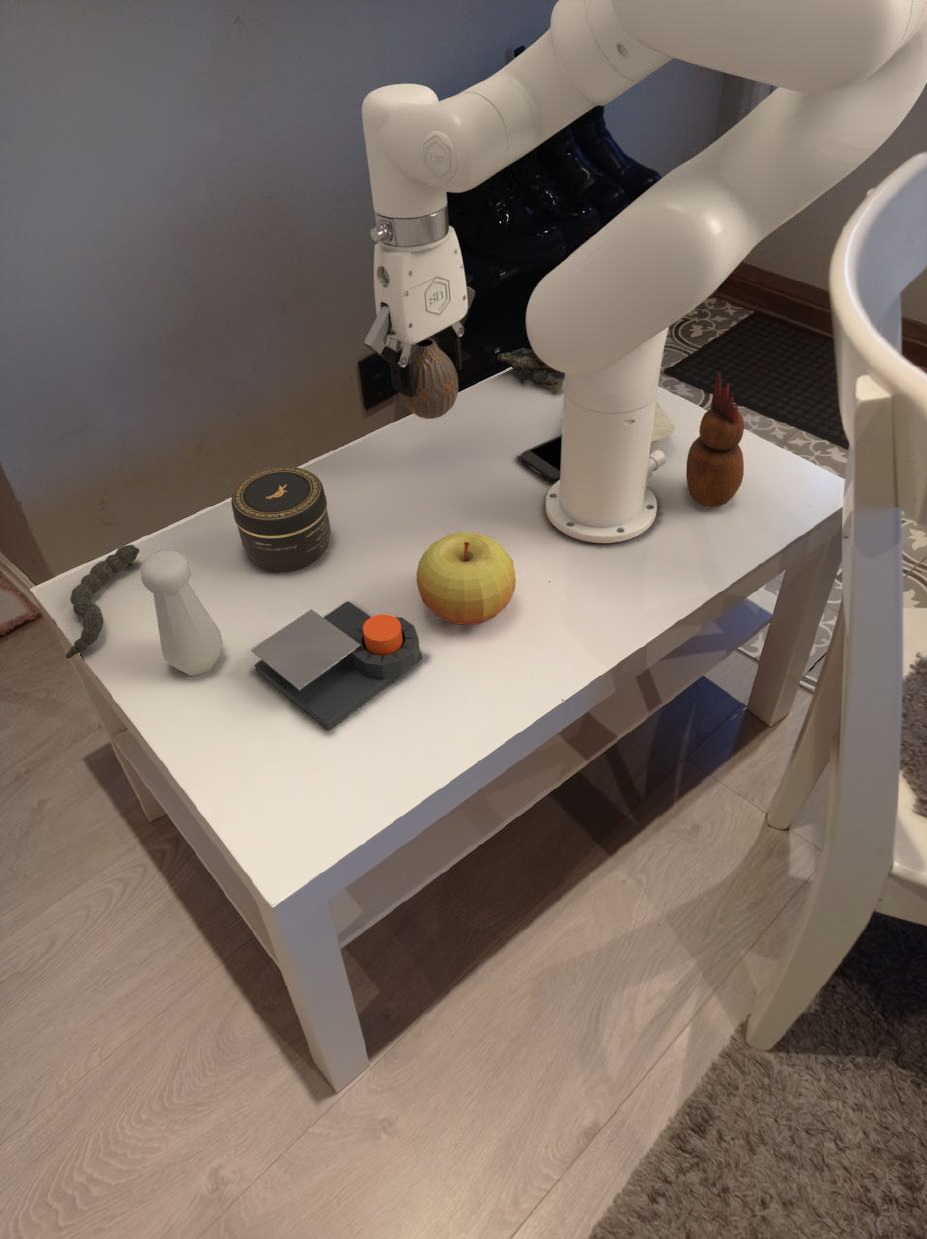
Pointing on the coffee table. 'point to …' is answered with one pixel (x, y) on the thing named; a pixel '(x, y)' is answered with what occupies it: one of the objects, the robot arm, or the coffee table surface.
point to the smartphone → (545, 459)
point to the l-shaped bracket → (349, 671)
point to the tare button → (382, 634)
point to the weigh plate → (306, 649)
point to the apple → (466, 578)
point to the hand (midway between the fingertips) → (428, 378)
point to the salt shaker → (181, 614)
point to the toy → (91, 585)
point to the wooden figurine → (717, 452)
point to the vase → (431, 381)
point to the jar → (282, 517)
